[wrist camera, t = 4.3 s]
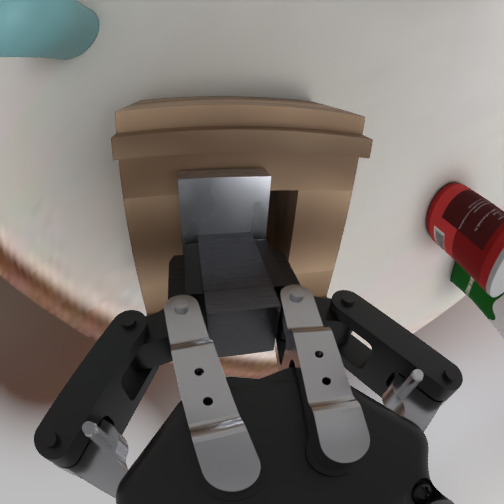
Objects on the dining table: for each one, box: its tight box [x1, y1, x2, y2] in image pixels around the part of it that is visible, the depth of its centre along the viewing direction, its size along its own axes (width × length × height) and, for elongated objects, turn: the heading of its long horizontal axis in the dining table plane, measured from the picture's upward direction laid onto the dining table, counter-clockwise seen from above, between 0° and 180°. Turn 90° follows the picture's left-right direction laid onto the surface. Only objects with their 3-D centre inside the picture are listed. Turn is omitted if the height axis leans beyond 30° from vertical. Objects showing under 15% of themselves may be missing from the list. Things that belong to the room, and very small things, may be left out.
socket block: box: [111, 96, 373, 316], centre depth 18 cm, size 14×12×8 cm
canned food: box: [427, 183, 504, 297], centre depth 23 cm, size 8×8×11 cm
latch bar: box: [178, 168, 281, 357], centre depth 13 cm, size 8×4×6 cm, turn 177°
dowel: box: [0, 0, 99, 59], centre depth 8 cm, size 4×4×9 cm
